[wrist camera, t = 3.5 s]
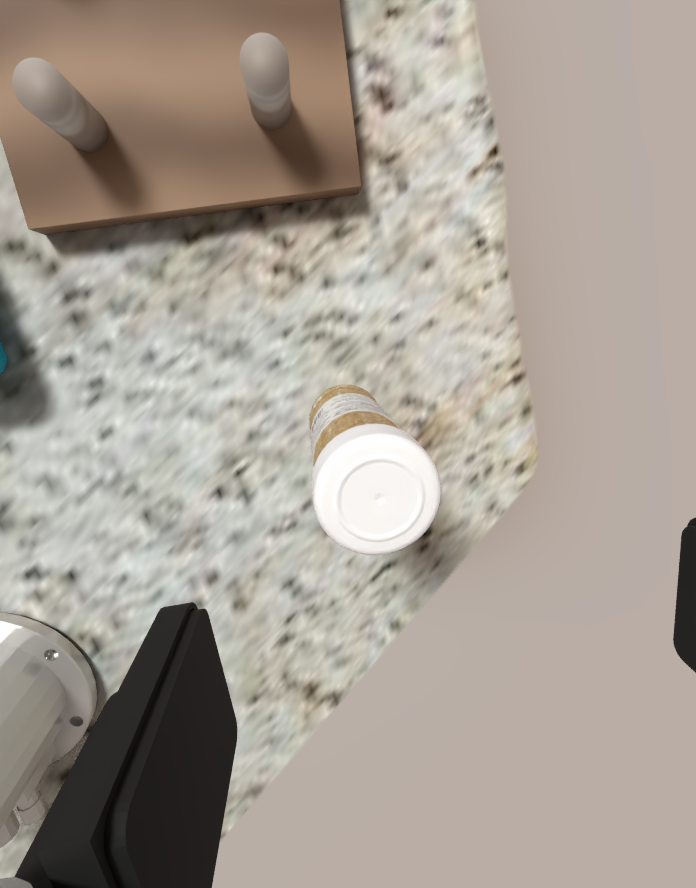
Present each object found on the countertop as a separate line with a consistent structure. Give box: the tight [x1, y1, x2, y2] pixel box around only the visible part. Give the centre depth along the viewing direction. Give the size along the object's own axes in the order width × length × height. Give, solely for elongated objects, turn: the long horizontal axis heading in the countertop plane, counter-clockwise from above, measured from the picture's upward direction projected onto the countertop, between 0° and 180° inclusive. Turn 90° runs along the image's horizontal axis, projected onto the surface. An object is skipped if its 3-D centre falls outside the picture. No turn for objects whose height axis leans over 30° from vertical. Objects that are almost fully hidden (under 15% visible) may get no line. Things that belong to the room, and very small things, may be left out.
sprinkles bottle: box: [310, 385, 441, 555], centre depth 22 cm, size 5×5×13 cm
